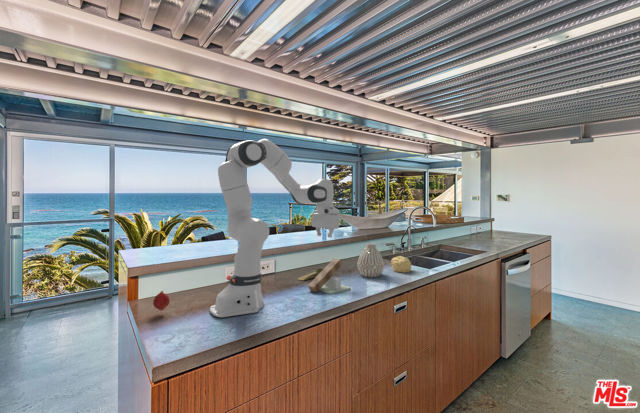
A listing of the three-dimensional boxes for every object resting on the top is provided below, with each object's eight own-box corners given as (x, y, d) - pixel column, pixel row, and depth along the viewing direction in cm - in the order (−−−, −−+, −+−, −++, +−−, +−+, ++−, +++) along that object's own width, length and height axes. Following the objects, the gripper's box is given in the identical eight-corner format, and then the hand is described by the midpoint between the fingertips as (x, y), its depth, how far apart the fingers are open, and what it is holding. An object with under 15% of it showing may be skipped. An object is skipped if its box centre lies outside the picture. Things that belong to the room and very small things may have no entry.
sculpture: (388, 271, 192) (388, 255, 192) (402, 270, 197) (402, 254, 197) (400, 275, 181) (400, 258, 181) (414, 273, 187) (415, 256, 187)
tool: (300, 282, 166) (299, 274, 166) (297, 281, 171) (296, 273, 172) (335, 275, 175) (334, 267, 175) (331, 274, 181) (330, 266, 181)
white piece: (329, 294, 143) (329, 281, 143) (314, 288, 154) (314, 276, 154) (350, 289, 151) (350, 277, 151) (335, 283, 162) (335, 273, 162)
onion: (152, 313, 117) (152, 293, 117) (154, 309, 122) (154, 289, 122) (168, 311, 119) (168, 292, 119) (169, 307, 124) (169, 288, 124)
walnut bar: (313, 287, 144) (307, 285, 148) (316, 292, 145) (310, 290, 149) (340, 259, 156) (333, 258, 160) (342, 264, 158) (336, 263, 161)
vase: (389, 277, 176) (389, 244, 176) (370, 281, 167) (370, 246, 167) (370, 272, 190) (370, 241, 189) (351, 275, 181) (352, 243, 180)
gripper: (309, 209, 161) (308, 235, 160) (331, 210, 144) (331, 238, 144) (318, 210, 164) (318, 234, 164) (341, 210, 147) (341, 238, 147)
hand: (324, 236), depth 154 cm, fingers open, 8 cm apart
